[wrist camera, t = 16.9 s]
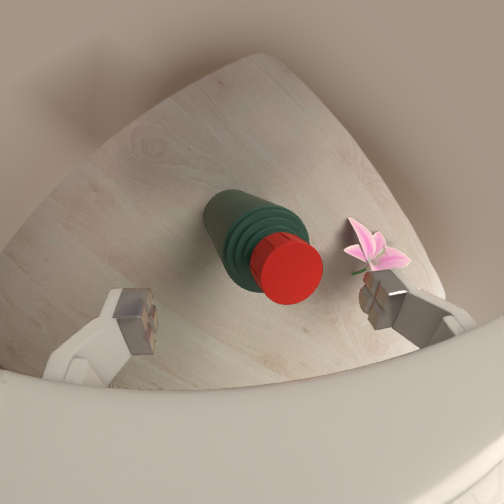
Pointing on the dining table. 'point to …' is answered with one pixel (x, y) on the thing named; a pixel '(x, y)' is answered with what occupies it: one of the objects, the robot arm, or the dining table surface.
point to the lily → (375, 250)
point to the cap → (286, 268)
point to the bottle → (246, 230)
